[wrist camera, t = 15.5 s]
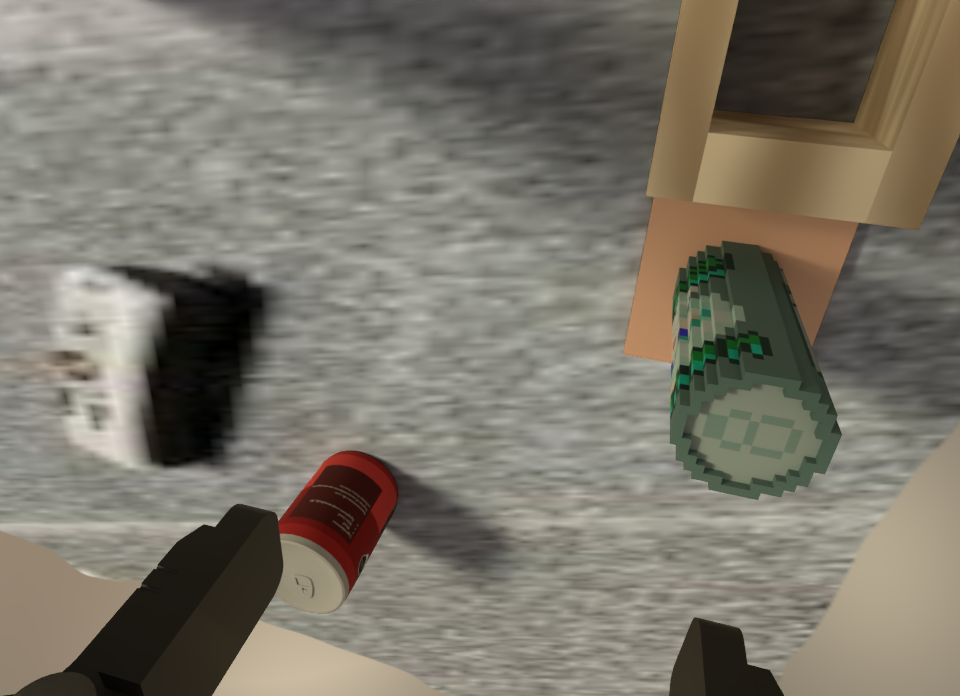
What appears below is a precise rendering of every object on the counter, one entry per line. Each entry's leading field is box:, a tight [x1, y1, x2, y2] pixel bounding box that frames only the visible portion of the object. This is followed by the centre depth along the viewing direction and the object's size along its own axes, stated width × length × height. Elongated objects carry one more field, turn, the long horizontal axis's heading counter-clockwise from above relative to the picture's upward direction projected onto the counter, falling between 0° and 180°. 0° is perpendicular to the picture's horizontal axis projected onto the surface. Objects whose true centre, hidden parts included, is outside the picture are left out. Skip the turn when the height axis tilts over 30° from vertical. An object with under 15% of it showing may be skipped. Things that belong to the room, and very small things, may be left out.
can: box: [670, 241, 842, 500], centre depth 31 cm, size 6×6×15 cm
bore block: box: [646, 0, 960, 230], centre depth 28 cm, size 12×14×7 cm
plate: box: [623, 197, 859, 363], centre depth 38 cm, size 11×11×1 cm
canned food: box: [275, 451, 398, 614], centre depth 51 cm, size 8×8×11 cm
